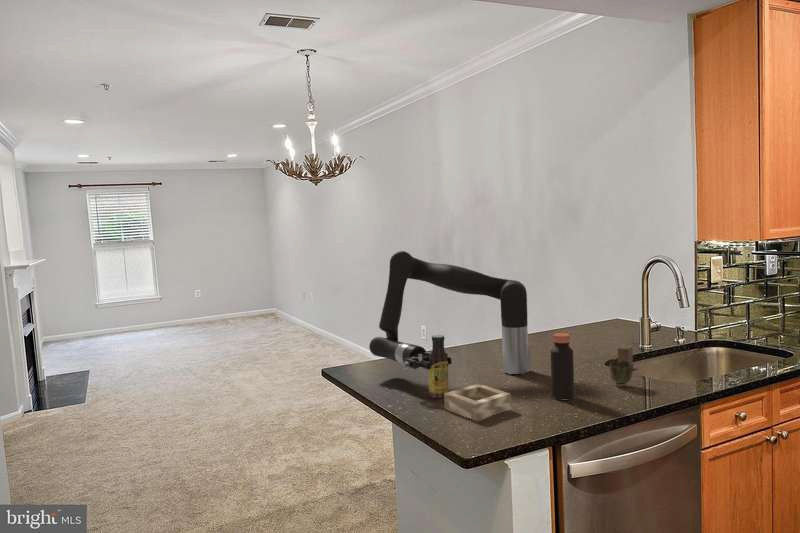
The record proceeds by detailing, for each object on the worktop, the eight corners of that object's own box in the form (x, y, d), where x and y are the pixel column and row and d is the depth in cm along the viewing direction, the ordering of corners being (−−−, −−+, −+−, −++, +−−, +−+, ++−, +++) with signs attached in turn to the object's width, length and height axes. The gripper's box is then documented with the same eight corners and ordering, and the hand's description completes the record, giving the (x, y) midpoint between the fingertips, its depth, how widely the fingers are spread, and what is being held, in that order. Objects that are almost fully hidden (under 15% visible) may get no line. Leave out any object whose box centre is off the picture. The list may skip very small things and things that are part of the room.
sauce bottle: (435, 400, 186) (433, 339, 184) (425, 395, 192) (423, 335, 190) (453, 396, 189) (450, 336, 187) (442, 391, 195) (440, 333, 193)
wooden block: (617, 369, 211) (617, 347, 211) (622, 366, 214) (622, 345, 213) (628, 371, 209) (628, 348, 208) (633, 368, 211) (632, 346, 211)
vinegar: (570, 402, 179) (569, 337, 177) (548, 399, 183) (547, 336, 181) (576, 395, 185) (575, 333, 183) (555, 392, 188) (554, 331, 186)
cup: (633, 383, 194) (632, 360, 193) (634, 390, 187) (633, 366, 186) (609, 382, 196) (608, 359, 195) (609, 389, 189) (609, 365, 189)
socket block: (478, 399, 186) (477, 383, 185) (511, 410, 174) (510, 393, 174) (444, 409, 178) (444, 393, 177) (476, 421, 166) (476, 404, 166)
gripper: (393, 348, 197) (422, 356, 184) (426, 340, 205) (456, 348, 192) (394, 369, 198) (423, 379, 185) (427, 361, 206) (457, 370, 193)
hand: (440, 363), depth 189 cm, fingers open, 8 cm apart
